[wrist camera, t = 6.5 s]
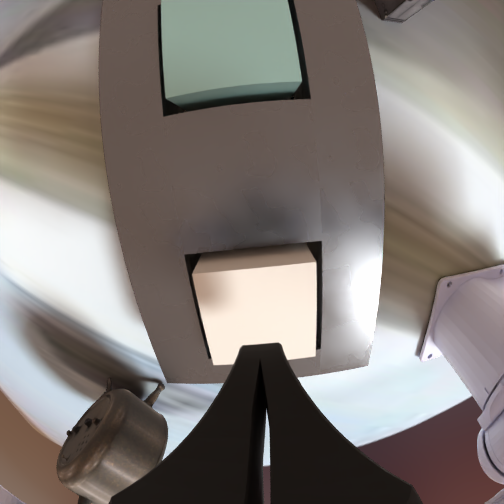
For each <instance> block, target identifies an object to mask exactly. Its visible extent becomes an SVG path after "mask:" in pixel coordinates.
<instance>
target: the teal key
mask: <svg viewBox="0 0 504 504" xmlns="http://www.w3.org/2000/svg"><path fill="white" fill-rule="evenodd" d="M161 28H162V54H163V71H164V85H165V97H166V99H167V100H169V101H171V102H172V103H174V104H176V105H177V106H179V107H181V108H182V109H184V110H186V111H187V112H189V111H195V110H200V109H206V108H213V107H219V106H227V105H234V104H243V103H252V102H263V101H277V100H290V98H291V97H292V95H293V94H294V92H295V91H296V90H297V88H298V87H299V85H300V84H301V82H302V78H301V71H300V64H299V58H298V52H297V46H296V40H295V35H294V30H293V24H292V19H291V14H290V9H289V5H288V0H161Z"/></svg>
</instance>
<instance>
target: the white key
mask: <svg viewBox="0 0 504 504" xmlns="http://www.w3.org/2000/svg"><path fill="white" fill-rule="evenodd" d="M192 276H193V281H194V286H195V290H196V295H197V299H198V304H199V308H200V313H201V317H202V321H203V325H204V329H205V334H206V338H207V342H208V346H209V349H210V353H211V357H212V361H213V365H229V364H234V362H235V360H236V357H237V355H238V352H239V349H240V347H241V346H242V345H254V344H266V343H277V342H279V343H280V344H281V345H282V348H283V351H284V353H285V356H286V358H287V360H291V359H299V358H307V357H314V356H316V314H317V280H316V261H315V259H314V257H313V255H312V253H311V252H310V250H309V248H308V246H307V245H306V243H305V242H304V243H294V244H284V245H273V246H263V247H253V248H243V249H234V250H224V251H214V252H204V253H202V255H201V257H200V259H199V261H198V263H197V265H196V267H195V269H194V271H193V273H192Z"/></svg>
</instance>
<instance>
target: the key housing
mask: <svg viewBox="0 0 504 504" xmlns="http://www.w3.org/2000/svg"><path fill="white" fill-rule="evenodd" d="M288 5H289V9H290V14H291V19H292V24H293V30H294V35H295V40H296V46H297V52H298V58H299V64H300V71H301V78H302V82H301V84H300V85H299V87H298V88H297V90H296V91H295V92H294V100H277V101H263V102H252V103H243V104H234V105H227V106H219V107H213V108H206V109H200V110H195V111H189V112H184V109H182V108H181V107H179V106H177V105H176V104H174V103H172V102H171V101H169V100H167V99H166V97H165V85H164V71H163V54H162V28H161V0H103V5H102V14H101V25H100V42H99V98H100V115H101V128H102V138H103V148H104V156H105V163H106V171H107V177H108V183H109V189H110V195H111V201H112V206H113V211H114V216H115V221H116V226H117V230H118V234H119V239H120V243H121V247H122V251H123V255H124V259H125V263H126V266H127V270H128V274H129V277H130V281H131V284H132V288H133V291H134V294H135V297H136V301H137V304H138V307H139V310H140V313H141V316H142V319H143V322H144V325H145V328H146V330H147V333H148V336H149V339H150V341H151V344H152V347H153V349H154V352H155V354H156V357H157V359H158V362H159V364H160V367H161V369H162V372H163V374H164V376H165V379H166V381H167V383H186V384H209V383H224V382H225V381H226V379H227V377H228V375H229V373H230V371H231V369H232V367H233V365H234V364H229V365H213V361H212V357H211V353H210V349H209V346H208V342H207V338H206V334H205V329H204V325H203V321H202V317H201V313H200V308H199V304H198V299H197V295H196V290H195V286H194V281H193V276H192V273H193V271H194V269H195V267H196V265H197V263H198V261H199V259H200V257H201V255H202V253H204V252H214V251H224V250H234V249H243V248H253V247H263V246H273V245H284V244H294V243H304V242H307V246H308V248H309V250H310V252H311V253H312V255H313V257H314V259H315V261H316V280H317V314H316V356H314V357H307V358H299V359H291V360H288V362H289V364H290V366H291V368H292V370H293V372H294V374H295V375H296V377H305V376H312V375H319V374H326V373H332V372H338V371H343V370H349V369H354V368H359V367H364V366H368V363H369V358H370V353H371V347H372V342H373V336H374V330H375V323H376V317H377V309H378V301H379V293H380V283H381V273H382V260H383V244H384V211H385V194H384V162H383V146H382V134H381V123H380V114H379V106H378V99H377V92H376V85H375V79H374V74H373V68H372V63H371V58H370V53H369V48H368V44H367V40H366V36H365V31H364V28H363V24H362V20H361V16H360V13H359V9H358V6H357V3H356V0H288Z"/></svg>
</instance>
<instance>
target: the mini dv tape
mask: <svg viewBox="0 0 504 504" xmlns="http://www.w3.org/2000/svg"><path fill="white" fill-rule="evenodd" d="M374 1H375V4H376V6H377V8H378V11H379V13H380V16H381V18H382V20H384V21H391V22H397V23H403V22H404V21H406V20H407V19H408V18H410V17H411V16H412V15H414V14H415V13H417V12H418V11H419V10H421V9H422V8H424V7H425V6H427V5H428V4H430V3H431V2H432V1H434V0H374Z"/></svg>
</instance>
